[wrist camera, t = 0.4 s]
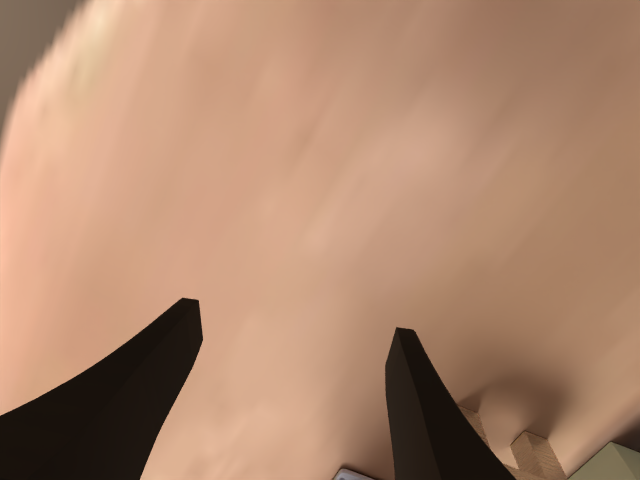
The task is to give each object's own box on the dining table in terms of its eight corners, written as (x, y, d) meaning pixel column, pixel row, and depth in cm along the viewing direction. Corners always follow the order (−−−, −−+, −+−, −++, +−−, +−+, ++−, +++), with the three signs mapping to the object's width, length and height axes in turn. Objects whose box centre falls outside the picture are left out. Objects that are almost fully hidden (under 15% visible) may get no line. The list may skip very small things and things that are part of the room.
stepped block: (530, 456, 29) (569, 542, 23) (440, 422, 29) (458, 502, 23) (548, 437, 28) (594, 524, 22) (455, 402, 28) (478, 481, 22)
